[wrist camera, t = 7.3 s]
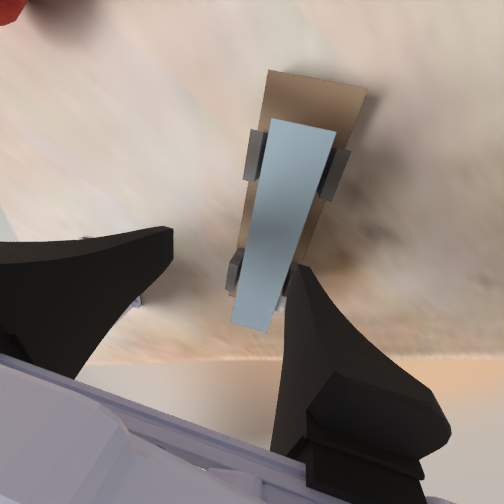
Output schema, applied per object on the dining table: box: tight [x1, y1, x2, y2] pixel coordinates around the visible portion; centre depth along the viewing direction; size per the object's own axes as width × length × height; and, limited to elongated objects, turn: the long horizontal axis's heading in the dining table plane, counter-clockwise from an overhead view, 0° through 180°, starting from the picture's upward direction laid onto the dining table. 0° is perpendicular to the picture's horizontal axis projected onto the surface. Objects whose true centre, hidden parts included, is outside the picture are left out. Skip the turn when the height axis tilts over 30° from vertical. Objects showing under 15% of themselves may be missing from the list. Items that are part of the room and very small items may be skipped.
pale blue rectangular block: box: [231, 118, 336, 333], centre depth 15 cm, size 14×4×6 cm, turn 169°
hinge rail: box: [225, 70, 367, 297], centre depth 17 cm, size 20×6×4 cm, turn 169°
